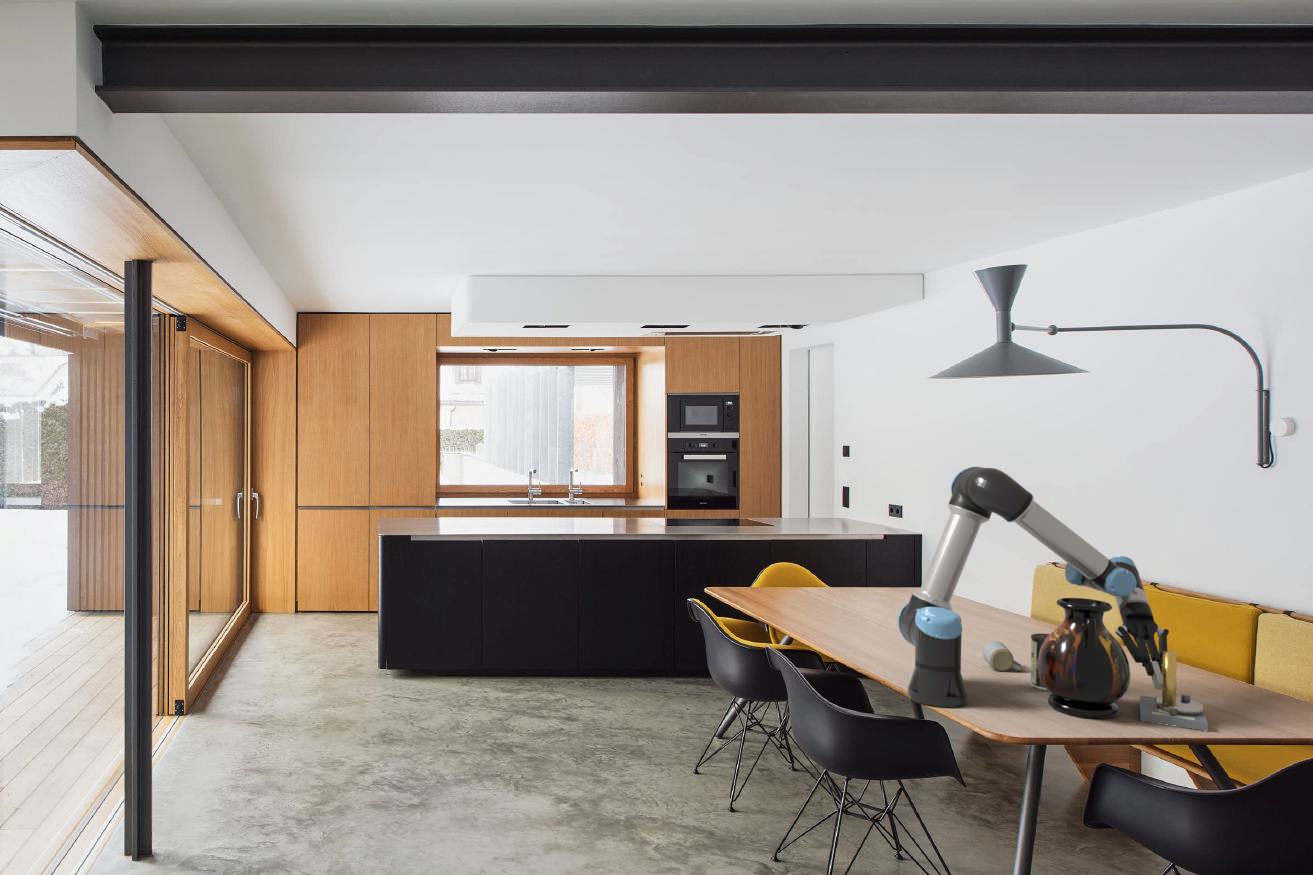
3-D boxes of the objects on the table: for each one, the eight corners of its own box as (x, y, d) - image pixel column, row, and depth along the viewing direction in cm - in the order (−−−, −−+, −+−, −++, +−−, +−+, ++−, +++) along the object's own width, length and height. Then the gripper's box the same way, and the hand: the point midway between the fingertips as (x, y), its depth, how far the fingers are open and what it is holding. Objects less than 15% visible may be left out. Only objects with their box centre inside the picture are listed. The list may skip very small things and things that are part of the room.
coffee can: (1078, 690, 232) (1079, 640, 232) (1047, 693, 229) (1048, 641, 229) (1051, 680, 242) (1052, 632, 242) (1022, 682, 239) (1022, 633, 239)
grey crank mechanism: (1207, 731, 199) (1207, 715, 199) (1140, 720, 206) (1140, 705, 206) (1201, 711, 215) (1202, 697, 215) (1139, 702, 222) (1139, 688, 222)
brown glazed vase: (1141, 727, 201) (1142, 612, 201) (1044, 717, 207) (1046, 605, 207) (1117, 702, 222) (1118, 597, 222) (1030, 693, 228) (1032, 592, 228)
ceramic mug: (989, 671, 250) (990, 646, 250) (982, 664, 259) (983, 640, 259) (1026, 674, 249) (1027, 648, 249) (1017, 667, 257) (1018, 642, 257)
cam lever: (1211, 711, 208) (1211, 652, 208) (1188, 717, 202) (1189, 657, 202) (1169, 700, 216) (1170, 644, 217) (1146, 706, 211) (1147, 648, 211)
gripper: (1113, 598, 225) (1137, 677, 209) (1164, 601, 223) (1193, 681, 207) (1104, 614, 230) (1128, 692, 214) (1154, 616, 229) (1182, 695, 212)
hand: (1160, 686), depth 210 cm, fingers closed
